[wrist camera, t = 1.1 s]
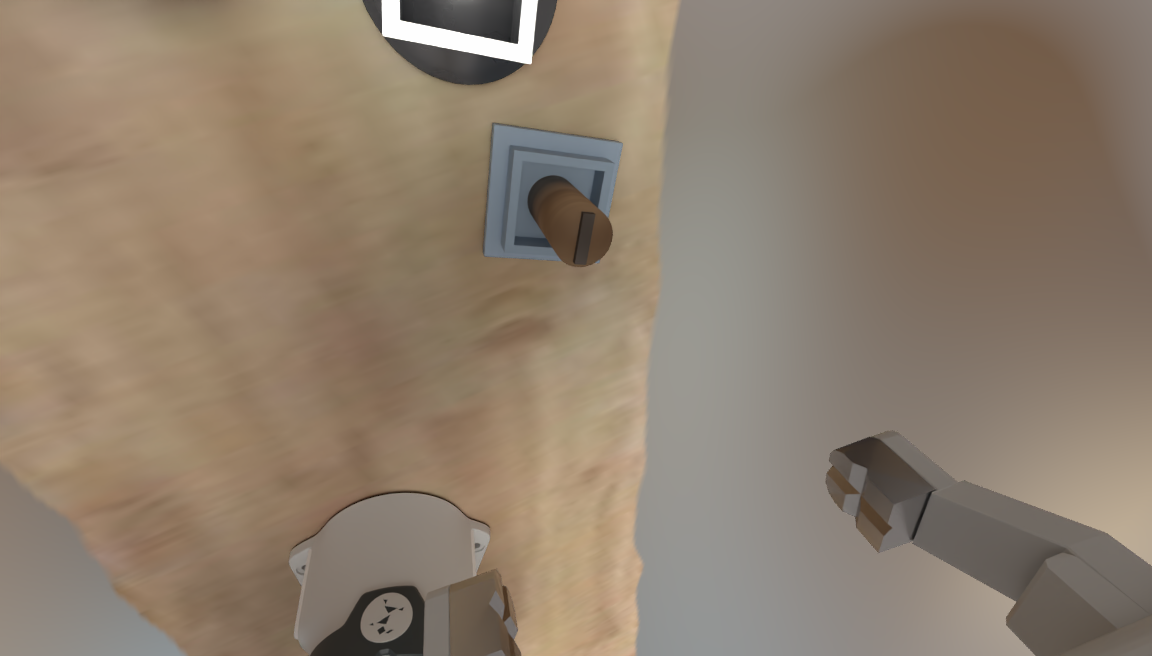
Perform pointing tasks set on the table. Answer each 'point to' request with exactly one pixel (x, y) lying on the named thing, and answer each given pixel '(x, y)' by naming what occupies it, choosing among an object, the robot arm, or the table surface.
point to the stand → (522, 164)
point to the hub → (464, 35)
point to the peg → (569, 221)
